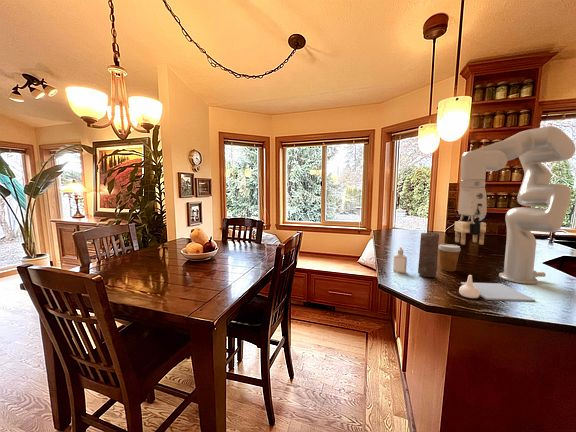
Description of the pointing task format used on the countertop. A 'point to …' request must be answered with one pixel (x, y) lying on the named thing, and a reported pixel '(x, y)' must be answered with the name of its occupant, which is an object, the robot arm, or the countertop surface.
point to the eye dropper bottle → (400, 262)
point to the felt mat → (499, 292)
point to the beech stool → (468, 231)
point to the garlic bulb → (469, 289)
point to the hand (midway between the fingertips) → (469, 232)
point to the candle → (428, 254)
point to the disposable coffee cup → (448, 256)
